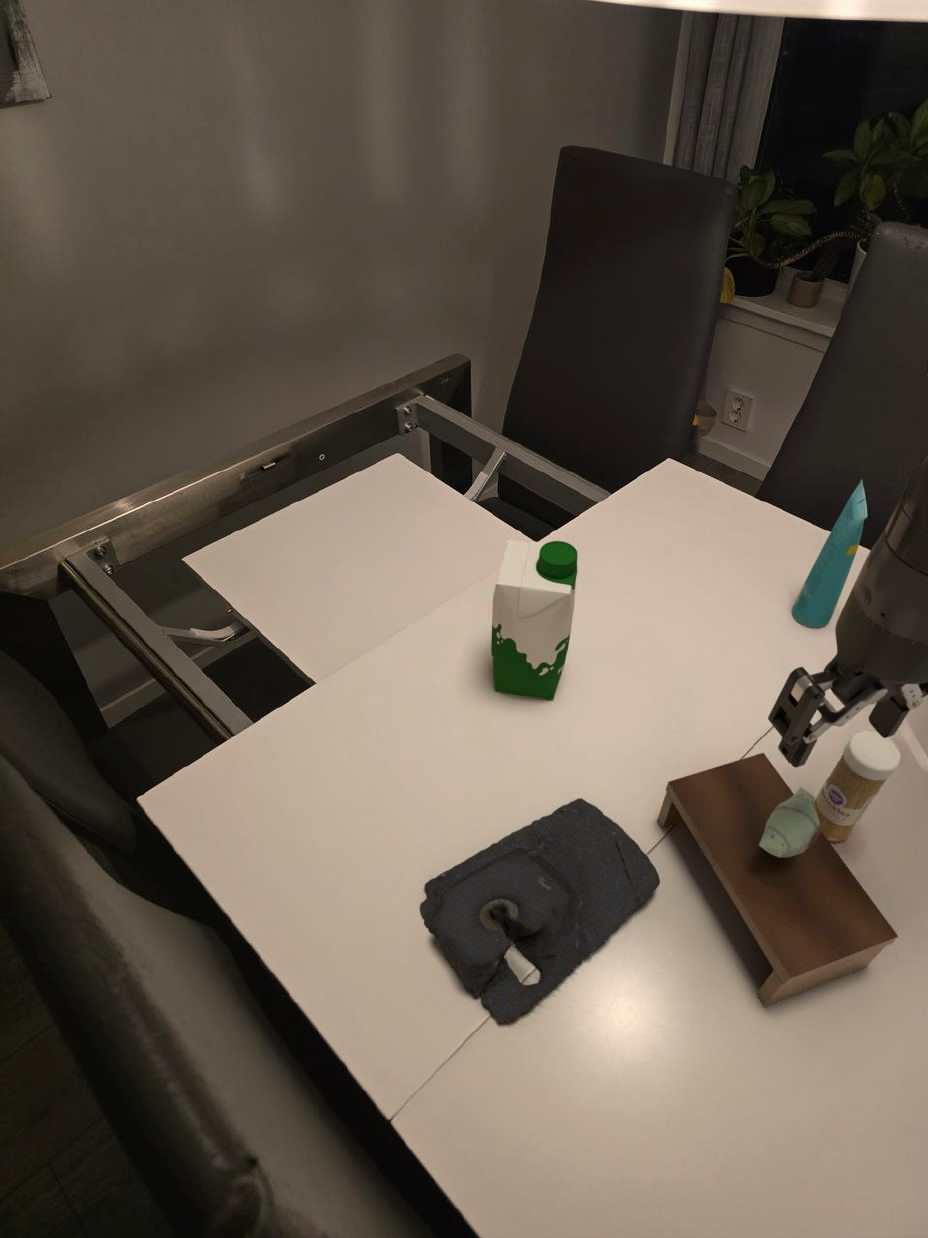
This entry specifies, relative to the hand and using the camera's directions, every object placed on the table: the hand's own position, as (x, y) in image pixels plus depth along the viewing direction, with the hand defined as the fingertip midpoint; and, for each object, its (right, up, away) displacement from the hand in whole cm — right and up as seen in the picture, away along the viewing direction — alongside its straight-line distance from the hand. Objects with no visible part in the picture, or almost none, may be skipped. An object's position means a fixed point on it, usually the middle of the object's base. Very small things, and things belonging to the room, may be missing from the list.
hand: (836, 743), depth 63 cm
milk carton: (-22, +3, +34) cm, 40 cm away
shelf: (-1, -16, +14) cm, 22 cm away
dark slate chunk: (-22, -18, +13) cm, 31 cm away
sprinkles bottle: (+8, -12, +19) cm, 24 cm away
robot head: (-1, -12, +9) cm, 15 cm away
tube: (+16, +10, +41) cm, 45 cm away
